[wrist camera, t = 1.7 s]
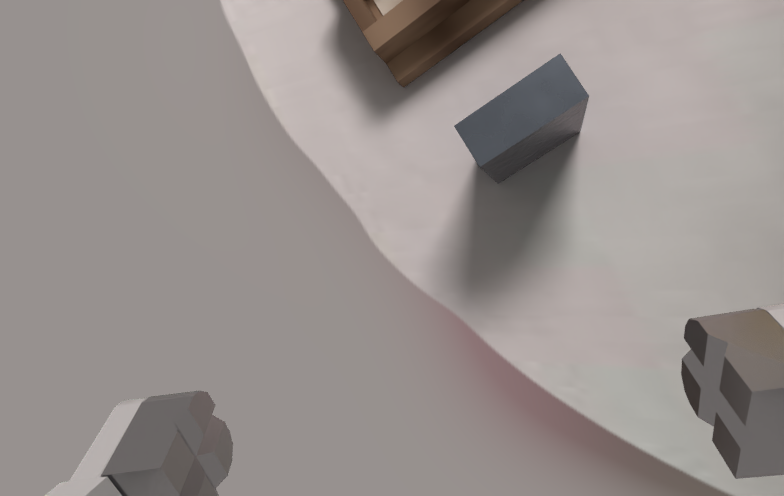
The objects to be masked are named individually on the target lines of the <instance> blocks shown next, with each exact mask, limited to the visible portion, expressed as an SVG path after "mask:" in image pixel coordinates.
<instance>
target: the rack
mask: <svg viewBox="0 0 784 496" xmlns="http://www.w3.org/2000/svg"><path fill="white" fill-rule="evenodd" d="M343 1H344V3H345V5H346V6H347V8H348V9H349V11H350V13H351V14H352V16H353V18H354V19H355V21H356V22H357V24H358V26H359V27H360V29H361V31H362V32H363V34H364V36H365V37H366V39H367V40H368V42H369V44H370V45H371V47H372V49H373V50H374V52H375V53H376V54H377V55H378V56H379V57H380V58H381V59H382V60H383V61H384V62H385V63H386V64H387V65H388V67H389V69H390V70H391V72H392V74H393V75H394V77H395V78H396V80H397V82H398V83H399V84H400V85H401V86H402V87H405V86H406V85H408V84H409V83H411V82H412V81H413V80H415V79H416V78H417V77H419V76H420V75H422V74H423V73H424V72H426V71H427V70H428V69H430V68H431V67H433V66H434V65H435V64H437V63H438V62H439V61H441V60H442V59H444V58H445V57H446V56H448V55H449V54H450V53H452V52H453V51H455V50H456V49H457V48H459V47H460V46H461V45H463V44H464V43H466V42H467V41H468V40H470V39H471V38H472V37H474V36H475V35H476V34H478V33H479V32H481V31H482V30H483V29H485V28H486V27H487V26H489V25H490V24H492V23H493V22H494V21H496V20H497V19H498V18H500V17H501V16H503V15H504V14H505V13H507V12H508V11H509V10H511V9H512V8H514V7H515V6H516V5H518V4H519V3H520V2H522V1H523V0H343Z"/></svg>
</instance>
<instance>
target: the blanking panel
mask: <svg viewBox="0 0 784 496" xmlns="http://www.w3.org/2000/svg"><path fill="white" fill-rule="evenodd" d="M588 98H589V95H588V94H587V92H586V91H585V89H584V88H583V86H582V85H581V83H580V82H579V80H578V79H577V77H576V76H575V75H574V73H573V72H572V70H571V69H570V67H569V66H568V64H567V63H566V61H565V60H564V58H563V57H562V55H561V54H559V55H557V56H556V57H554V58H553V59H551V60H550V61H548V62H547V63H545V64H544V65H543V66H541V67H540V68H538V69H537V70H535V71H534V72H532V73H531V74H529V75H528V76H526V77H525V78H524V79H522V80H521V81H519V82H518V83H516V84H515V85H513V86H512V87H510V88H509V89H507V90H506V91H505V92H503V93H502V94H500V95H499V96H497V97H496V98H494V99H493V100H491V101H490V102H488V103H487V104H485V105H484V106H483V107H481V108H480V109H478V110H477V111H475V112H474V113H472V114H471V115H469V116H468V117H466V118H465V119H464V120H462V121H461V122H459V123H458V124H456V125H455V126H454V127H455V128H456V130H457V131H458V133H459V135H460V136H461V138H462V139H463V141H464V143H465V144H466V146H467V148H468V149H469V151H470V152H471V154H472V156H473V157H474V159H475V160H476V162H477V164H478V165H479V167H480V168H481V169H482V170H484V171H485V172H486V173H487V174H488V175H489V176H490V177H491V178H493V179H494V180H495V181H496V182H497V183H500V182H501V181H503V180H505V179H506V178H508V177H509V176H511V175H512V174H514V173H516V172H517V171H519V170H520V169H522V168H524V167H525V166H527V165H528V164H530V163H531V162H533V161H535V160H536V159H538V158H539V157H541V156H543V155H544V154H546V153H547V152H549V151H550V150H552V149H554V148H555V147H557V146H558V145H560V144H562V143H563V142H565V141H566V140H568V139H569V138H571V137H573V136H574V135H576V134H577V133H579V132H580V131H581V127H582V123H583V119H584V115H585V111H586V106H587V102H588Z"/></svg>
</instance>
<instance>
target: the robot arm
mask: <svg viewBox="0 0 784 496" xmlns="http://www.w3.org/2000/svg"><path fill="white" fill-rule="evenodd" d="M684 339H685V340H686V342H687V343H688V345H689V346H690V348H691V350H690V351H689V352H688V353H687V354H686V355H685V356H684V357H683V358H682V371H681V375H682V380H683V385H684V390H685V393H686V395H687V398H688V400H689V402H690V405H691V406H692V408H693V410H694V411H695V413H696V415H697V417H699V418H700V419H702V420H704V421H705V422H707V423H709V424H710V425H712V426H714V431H713V438H712V441H713V443H714V445H715V446H716V448H717V449H718V451H719V453H720V454H721V456H722V457H723V459H724V461H725V462H726V464H727V466H728V467H729V469H730V470H731V472H732V474H733V475H734V477H735V478H736V479H738V478H750V477H762V476H774V475H784V304H778V305H772V306H766V307H760V308H757V309H749V310H743V311H736V312H730V313H723V314H717V315H710V316H704V317H697V318H691V319H689V320H688V322H687V324H686V326H685V333H684ZM214 408H215V404H214V402H213V400H212V399H211V397H210V395H209V394H208V392H204V391H194V392H186V393H178V394H169V395H161V396H153V397H149V398H142V399H134V400H124V401H123V402H121V403H120V404H118V405H117V406H115V408H114V409H113V411H112V413H111V414H110V416H109V417H108V419H107V421H106V422H105V424H104V426H103V427H102V429H101V430H100V432H99V434H98V435H97V437H96V439H95V440H94V442H93V444H92V445H91V447H90V448H89V450H88V452H87V453H86V455H85V457H84V458H83V460H82V462H81V463H80V465H79V466H78V468H77V469H76V471H75V473H74V474H73V476H72V478H71V479H70V481H67V482H61V483H60V484H58V485H57V486H56V487H55V488H53V489H52V490H51V491H50V492H48V493H47V494H46V495H45V496H219V495H218V493H217V491H216V487H217V486H218V485H219V484H220V483H221V482H222V481H223V480H224V479H225V478H226V477H227V476H228V473H229V469H230V466H231V463H232V451H233V442H232V439H231V434H230V431H229V429H228V428H227V425H226V423H225V422H224V421H222V420H220V419H219V418H217V417H215V416H214V415H212V413H213V410H214Z"/></svg>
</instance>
